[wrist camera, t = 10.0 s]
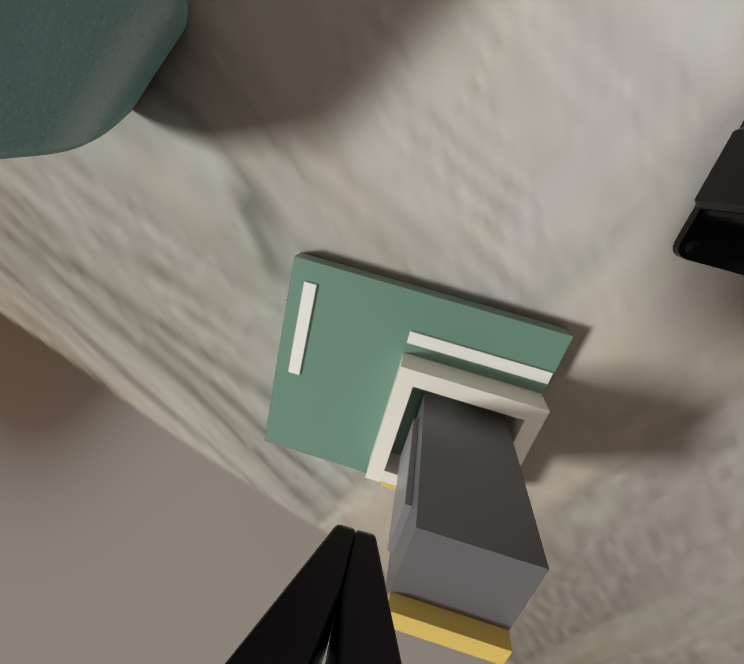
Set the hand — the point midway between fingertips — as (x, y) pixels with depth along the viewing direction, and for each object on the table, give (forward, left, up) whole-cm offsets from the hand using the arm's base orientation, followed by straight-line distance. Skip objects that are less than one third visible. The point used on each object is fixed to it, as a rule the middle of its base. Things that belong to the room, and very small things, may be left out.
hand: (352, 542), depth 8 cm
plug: (-4, +4, -11) cm, 12 cm away
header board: (-1, +3, -12) cm, 12 cm away
